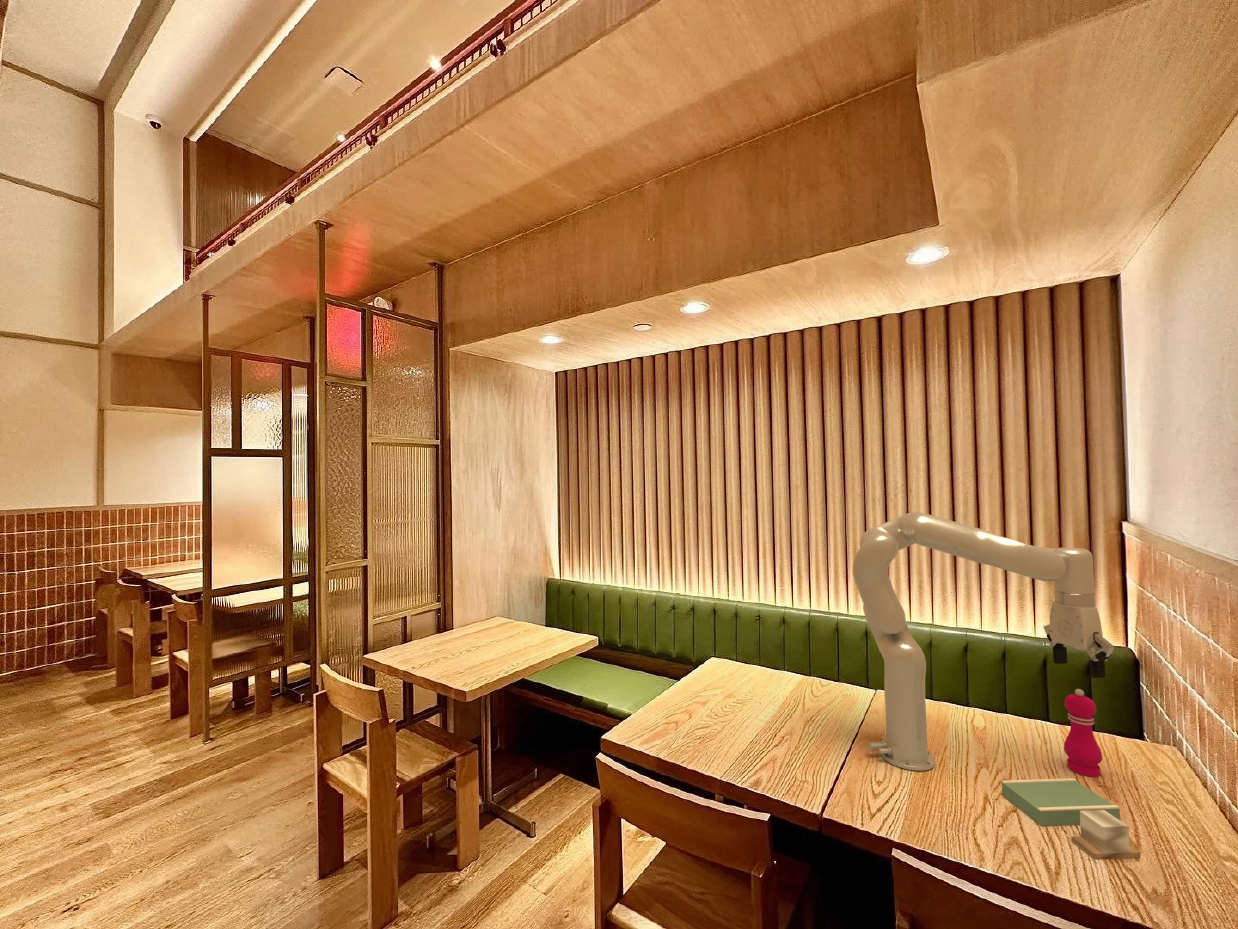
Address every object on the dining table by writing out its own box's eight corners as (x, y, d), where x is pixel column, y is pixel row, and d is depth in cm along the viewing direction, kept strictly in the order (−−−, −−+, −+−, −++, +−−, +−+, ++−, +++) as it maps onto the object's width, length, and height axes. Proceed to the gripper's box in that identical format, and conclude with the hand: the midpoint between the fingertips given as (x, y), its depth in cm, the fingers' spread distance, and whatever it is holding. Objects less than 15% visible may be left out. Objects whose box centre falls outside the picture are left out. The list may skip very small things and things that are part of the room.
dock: (1041, 826, 111) (1040, 810, 111) (1002, 795, 122) (1001, 780, 122) (1120, 823, 111) (1119, 807, 111) (1074, 792, 122) (1073, 778, 122)
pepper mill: (1057, 763, 135) (1052, 684, 135) (1083, 762, 135) (1078, 683, 136) (1084, 779, 128) (1079, 695, 128) (1111, 777, 128) (1106, 694, 129)
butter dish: (1094, 860, 101) (1092, 827, 101) (1071, 842, 106) (1069, 811, 106) (1140, 859, 101) (1138, 825, 101) (1115, 841, 106) (1113, 809, 106)
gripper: (1030, 592, 137) (1033, 659, 136) (1093, 607, 120) (1098, 684, 119) (1057, 591, 137) (1061, 657, 137) (1124, 606, 120) (1129, 682, 119)
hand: (1078, 670), depth 128 cm, fingers open, 9 cm apart
